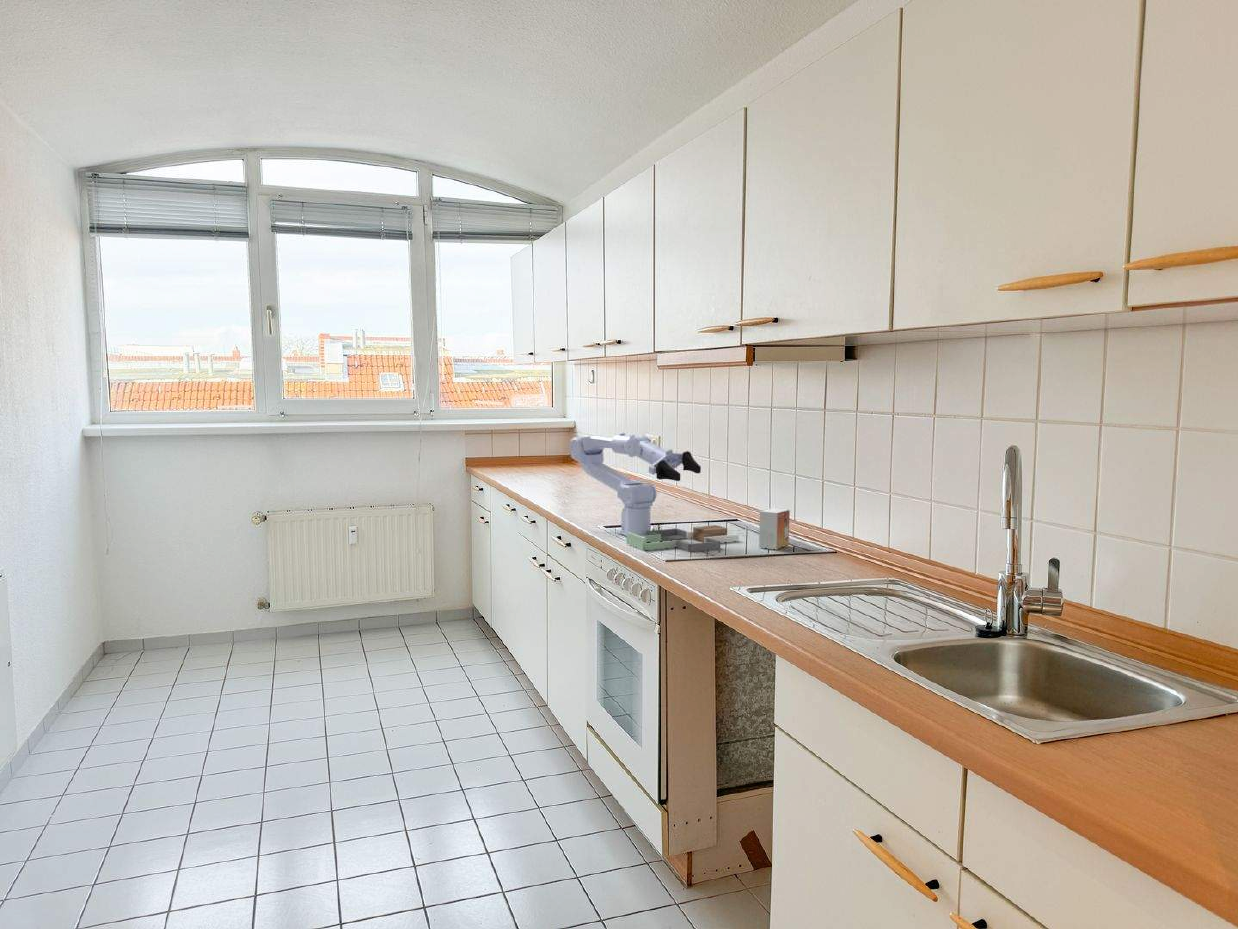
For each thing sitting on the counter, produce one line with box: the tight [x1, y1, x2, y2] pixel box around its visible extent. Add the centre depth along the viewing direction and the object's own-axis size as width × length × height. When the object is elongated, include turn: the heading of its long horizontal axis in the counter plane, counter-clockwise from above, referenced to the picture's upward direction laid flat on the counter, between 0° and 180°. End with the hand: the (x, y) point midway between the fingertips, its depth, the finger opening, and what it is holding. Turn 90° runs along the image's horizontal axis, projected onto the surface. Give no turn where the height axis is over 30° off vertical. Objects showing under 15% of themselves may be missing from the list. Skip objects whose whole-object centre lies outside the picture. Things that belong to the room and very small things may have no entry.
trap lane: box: [626, 527, 739, 553], centre depth 243 cm, size 23×32×4 cm
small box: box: [758, 507, 791, 551], centre depth 237 cm, size 8×6×10 cm
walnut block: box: [692, 524, 728, 543], centre depth 247 cm, size 6×8×4 cm
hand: (689, 473), depth 235 cm, fingers open, 7 cm apart
